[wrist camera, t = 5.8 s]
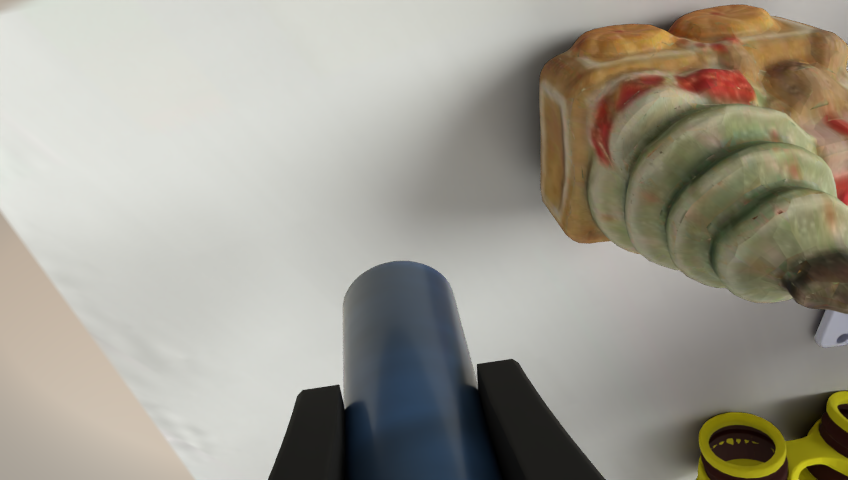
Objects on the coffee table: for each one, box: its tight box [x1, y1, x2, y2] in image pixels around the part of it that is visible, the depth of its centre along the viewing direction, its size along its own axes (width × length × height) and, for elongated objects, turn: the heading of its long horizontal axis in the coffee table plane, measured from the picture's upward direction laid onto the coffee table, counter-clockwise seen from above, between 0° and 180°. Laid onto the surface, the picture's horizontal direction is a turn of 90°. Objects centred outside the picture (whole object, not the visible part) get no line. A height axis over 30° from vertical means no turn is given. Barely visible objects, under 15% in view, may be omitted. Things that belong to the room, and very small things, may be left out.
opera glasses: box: [696, 391, 848, 480], centre depth 27 cm, size 10×5×5 cm, turn 97°
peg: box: [343, 261, 503, 480], centre depth 9 cm, size 2×2×8 cm
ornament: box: [539, 5, 848, 314], centre depth 14 cm, size 8×6×10 cm
